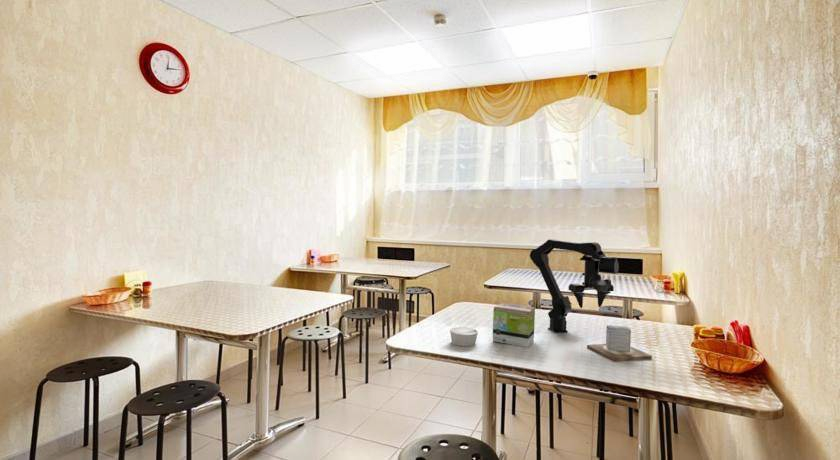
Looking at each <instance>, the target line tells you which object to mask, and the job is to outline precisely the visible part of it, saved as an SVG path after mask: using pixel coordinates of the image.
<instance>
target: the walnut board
mask: <svg viewBox="0 0 840 460" xmlns="http://www.w3.org/2000/svg"><path fill="white" fill-rule="evenodd" d="M586 348H587V349H589V350H590V351H592V352H594V353H597V354H599V355H600V356H602V357H605V358H607V359H609V360H610V361H613V362H629V361H638V360H639V361H640V360H652V359H653V356H652V355H651V354H649V353H647V352H644V351H642V350H640V349H637V348H635V347H632V346H631V345H630V352H626V351H613V350H608V349H607V347H606V343H596V344H586Z"/></svg>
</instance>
